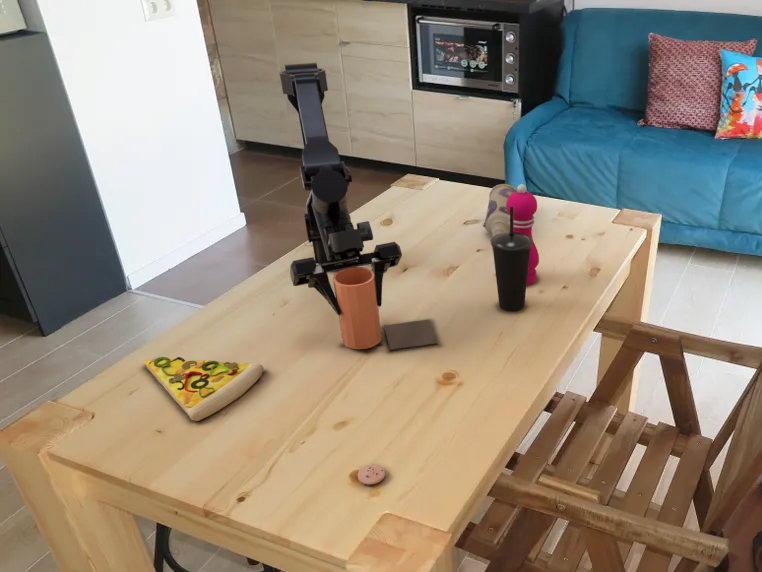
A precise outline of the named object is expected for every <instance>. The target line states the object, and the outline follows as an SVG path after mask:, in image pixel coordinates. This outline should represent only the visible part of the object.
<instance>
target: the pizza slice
mask: <svg viewBox="0 0 762 572" xmlns="http://www.w3.org/2000/svg"><path fill="white" fill-rule="evenodd" d="M143 364H144V365H145V366H146V368H147V370H148V371H149V372H151V374H152V375H153V376H154V377H155V378H156V380H157V382H159V384H160V385H162V386H163V388H164V389H165V390H166V392H167V393H168V394H169V396H171V398H172V399H173V400H174V401H175V402H176V403H177V404H178V405H179V407H180V408H181V409H182V410H183V411H184V412H185V413H186V414H187V416H188V417H189V418H190V420H192V421H194V422H198V421H199V422H200V421H201V420H203V419H205V418H207V417H210V416H212V415H213V414H215V413H218V411H220V410H221V409H224V408H225V407H226V406H228V405H229V404H231V403H233V402H235V400H237V399H238V398H239V397H242V395H244V394H245V393H246V392H247V391H248V390H249V389H250V388H251V387H252V386H253V385H254V384H255V383H256V382H257V381H258V380H259V379H260V378H261V376H262V375H263V372H264V366H263V364H261V363H258V362H254V363H239V362H236V361H235V362H230V361H225V362H224V361H217V360H201V359H199V360H192V359H191V360H190V359H189V360H188V359H184V358H183V357H181V356H177V357H176V358H172V357H166V356H159V357H157V358H153V359H149V360H148V359H147V360H143Z"/></svg>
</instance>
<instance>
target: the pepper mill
mask: <svg viewBox="0 0 762 572" xmlns="http://www.w3.org/2000/svg"><path fill="white" fill-rule="evenodd" d="M516 189H517V192H514V193H512V194H511V195H510V196H509V197H508V199H507V202H506V209H507V212H508V213H509V214H510V207H514V232H519V233H523V234H526V235H528V236H530V237H531V238H532V240H533V244H532V246H531V249H530V258H529V267H528V276H527V286H530V285H532V284H534V283H535V282H536V280H537V269H536V268H537V267H538V265H539V262H540V254H539V251H538V248H537V246H536V244H535V242H534V238H533V226H534V225H535V216H534V215H535V214H536V212H537V210H538V201H537V198H536V196H535V195H534V194H532V192H529V191H528V190H527V185H525V184H523V183H521V184H519V185H518V186H517V188H516ZM509 224H510V216H509Z"/></svg>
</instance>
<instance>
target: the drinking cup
mask: <svg viewBox="0 0 762 572" xmlns="http://www.w3.org/2000/svg"><path fill="white" fill-rule="evenodd" d="M491 237H492V236H491ZM532 238H533V237H532ZM532 238H531V237H530V236H528V235H526V234H523V233H519V232H514V207H510V232H504V233H500V234H497V235H495V236H494V237H492V238H490V245H491V247H492V254H493V261H494V263H493V264H494V272H495V278H496V279H495V281H496V288H497V297H498V306H499V308H500V309H501V310H502V311H504V312H507V313H516V312H520V311H522V310H523V309H524V307H525V304H526V303H525V302H526V295H527V294H526V293H527V286H528V285H527V276H528V267H529V258H530V249H531V246H532V244H533V241H534V239H533V240H532Z"/></svg>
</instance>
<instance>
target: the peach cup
mask: <svg viewBox="0 0 762 572" xmlns="http://www.w3.org/2000/svg"><path fill="white" fill-rule="evenodd" d="M332 281H333V288H334V295H335V297H336V300H337V302H338V305H339V308H340V312H341V315H339V316H338V321H339V328H340V335H341V339H342V343H343V344H344V346H346V347H347V348H349V349H352V350H365V349H370V348H372V347H375V346H376V345H378V344H379V343H380V342H381V340H382V328H381V318H380V310H379V306H378V300H377V291H376V283H375V274H374V273H373V271H372V270H371V269H369V268H367V267H364V266H359V267H350V268H345V269H343V270H338V271H336V272H335V273H334V274H333V277H332Z"/></svg>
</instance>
